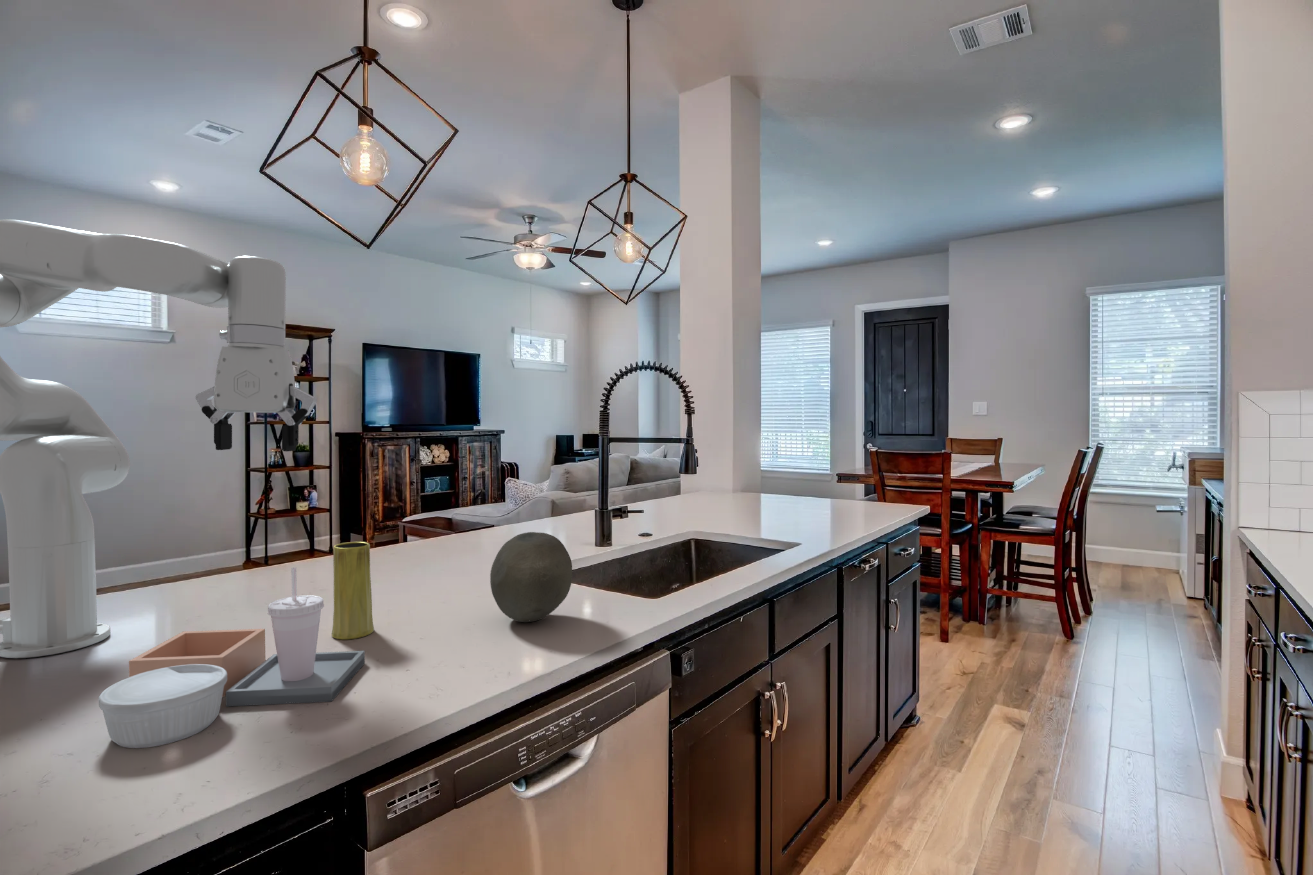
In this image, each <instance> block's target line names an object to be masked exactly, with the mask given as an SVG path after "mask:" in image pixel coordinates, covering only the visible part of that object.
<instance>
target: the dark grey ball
mask: <svg viewBox="0 0 1313 875" xmlns="http://www.w3.org/2000/svg"><path fill="white" fill-rule="evenodd" d="M489 576H490V577H489V578H490V580H489V581H490V583H489V584H490V590H491V594H492V597H493V599H494V601H495V603H496V605H497V607H498V608H499V610H500V611H501V612H502V613H503V614H504V615H505V616H506V617H507V618H509V619H511V620H514V621H517V622H519V623H531V622H536V621H539V620H542V619H544V618H545V617H548V616H549V615H550V614H552V613H553V612H554V611H555V610H556V609H557V608H558V607H559V606H560V605H561V604H562V603H563V602H564V601H565V599H566V598H567V596H568V594H569V593H570V592H569V591H570V589H571V587H572V580H573V563H572V558H571V556H570V554H569V552H568V550H567V549H566V546H565V545H564V543H562V541H561V540H560V539H559V538H557V537H556V536H554V535H552V534H550V533H545V532H536V531H528V532H523V533H519V534H517V535H514V536H513V537H512V538H510V539H508V540H507V541H506V542H505V543H504V544H502V546H501V547H500V549H499V550H498V552H497V554H496V556H495V557H494V560H493V562H492V565H491V569H490V575H489Z"/></svg>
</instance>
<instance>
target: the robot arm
mask: <svg viewBox="0 0 1313 875" xmlns="http://www.w3.org/2000/svg"><path fill="white" fill-rule="evenodd" d="M286 276H287V275H286V270H285V267H284V266H283V264H281V263H280V262H278V261H276V260H273V259H272V258H271V259H269V258H266V257H261V256H254V255H253V256H250V255H242V256H241V255H240V256H235V257H233V258H232V259H231V260H230V261H225V260H222V259H219V258H216V257H214V256H212V255H210V254H207V253H204V252H203V251H201V250H198V249H195V248H192V247H190V246H188V245H184V244H180V243H175V242H171V241H165V240H159V239H154V238H147V237H141V236H137V235H136V236H135V235H130V234H129V235H128V234H121V233H120V234H119V233H97V232H91V231H87V230H86V231H85V230H78V229H73V228H67V227H62V226H57V225H49V224H45V223H39V222H32V221H27V220H19V219H12V218H11V219H9V218H8V219H5V218H4V219H0V328H9V327H13V326H17V325H20V324H21V323H24V322H26V321H29V320H30V319H31V318H33V317H35V316H36V315H38V314H40V313H42V312H43V311H45V310H47V309H48V308H50V307H51V306H53V305H54V304H56V303H58V302H60V301H61V300H63V299H64V298H66V297H68V296H69V295H71V294H72V293H74V292H75V291H77V290H78V289H83V290H90V291H93V292H94V291H95V292H105V293H106V292H110V291H113V290H115V289H116V288H120V289H122V288H123V289H131V290H136V291H141V292H149V293H154V294H159V295H165V296H169V297H173V298H177V299H180V300H185V301H187V302H191V303H195V304H197V305H201V306H204V307H209V308H213V309H214V308H216V309H218V308H219V309H221V308H223V309H224V308H227V325H228V326H226V330H222V331H221V330H220V331H219V338H220V340H222V341H223V340H224V341H226V343H227V346H221V349H220V352H219V356H218V361H217V364H216V371H215V379H214V386H212V387H210V388H208V389H206V390H203V391H202V392H198V393H197V394H196V395H195V400H196V402H197V404H198V405H199V407H200V408H201V412H202V413H203V415H204V416H206V417H207V418H208V419H209V422H210V424H212V425H213V443H214V445H215V450H216V451H225V450H227V451H228V450H231V449H232V448H233V425H232V423H229V421H230V420H231V419H232V418H233V417H234V416H235V414H236V413H258V414H259V413H262V414H269V413H271V414H272V413H273V414H274V413H275V414H278V416H279V417H280V418H281V419H282V420H283V422H285V425H282V427H281V451H283V452H295V451H296V450H297V447H298V445H299V437H300V436H299V434H300V433H299V426H301V425H302V423H303V422H304V421H305V420H306V419H307V418H308V417H309V416H311V414H312V413H311V412H312V410H313V409H314V407H315V405H316V403H317V402H318V400H317V398H316V397H315V396H313V395H311V394H310V393H307V392H306V391H303V390H301V389H299V388H298V387H296V382H295V373H294V366H293V361H292V357H291V354H290V350H288V349H286V300H287V299H286V298H287V297H286V296H287V295H286V291H287V290H286V288H287V287H286V285H287V284H286V279H287V278H286ZM296 399H297V400H298V401H301V403H302V404H301V407H300V408H299V409H298V410H297V411H295V410H294V409H295V408H296V407H295V406H296ZM212 400H213V402H212ZM213 404H214V405H213ZM0 441H2V442H3V441H4V442H6V441H7V442H8V441H9V442H10V441H16V442H14V443H12V444H10V445H9V446H7V447H6V448H5V449H4V450H3V451H2V453H0V496H1V499H2V503H3V508H4V512H5V513H4V514H5V521H6V531H7V533H6V534H7V537H6V538H7V553H8V554H7V556H8V557H7V558H8V580H9V581H8V584H9V613H10V614H9V615H10V617H0V634H1V635H2V641H0V658H7V659H26V658H27V659H28V658H38V657H44V656H51V655H57V654H62V653H67V652H70V651H75V650H79V649H83V648H85V647H89V646H91V645H95V644H97V643H100V642H101V641H104V640H105V639H107V638H108V637H109V636H110V635H111V632H112V631H111V626H110V625H108V624H106V623H102V622H101V623H100V622H98V610H97V609H98V607H97V606H98V605H97V575H96V574H97V572H96V571H97V570H96V565H97V564H96V538H95V537H96V536H95V524H94V518H93V515H92V513H91V509H90V508H89V505H88V503H87V502H86V499H85V498H84V495H85V494H92V493H97V492H103V491H106V490H107V491H108V490H110V489H112V488H114V487H116V486H118V485H120V484H121V483H122V482H123V481H124V480H125V479H126V478H127V476H128V474H129V472H130V469H131V467H130V466H131V460H130V455H129V453H128V450H127V448H126V446H125V445H124V443H123V442H122V441H121V440H120V438H118V436H117V435H116V433H115V432H114V431H113V430H112V429H111V427H110V426H108V424H107V423H106V422H105V421H104V420H103V418H102V417H101V416H100V415H99V414H98V412H97V411H96V410H95V409H94V408H93V406H92V405H91V404H90V403H89V402H88V401H87V400H86V398H84V396H82V394H81V393H79V392H78V391H77V390H75V389H73V388H71V387H69V386H68V385H65V384H63V383H61V382H56V381H52V380H45V379H44V380H43V379H32V378H27V377H23V376H21V375H20V374H18V373H17V372H16V371H14V370H13V369H12V368H11V366H9V364H8V363H6V361H5V360H4V359H3V357H1V356H0Z"/></svg>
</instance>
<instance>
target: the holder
mask: <svg viewBox="0 0 1313 875" xmlns="http://www.w3.org/2000/svg"><path fill="white" fill-rule="evenodd" d="M266 660H267V658H266V628H251V629H250V628H245V629H244V628H243V629H242V628H241V629H221V630H220V629H215V630H213V629H211V630H187V631H186V630H185V631H181V632H179V633H178V634H176V635H174V636H172V637H171V638H168V639H167V640H165V641H162V642H161V643H159V644H157V645H156V646H154V647H152V648H150V649H148V650H146V651H145V652H143V653H141V654H140V655H137V656H136V657H133V658H132V659H129V661H128V668H129V670H128V671H129V672H128V673H129V674H128V678H129V677H131V676H134V675H137V674H140V673H144V672H147V671H152V670H156V669H160V668H165V667H171V666H179V665H188V664H208V665H215V666H219V667H222V668H223V669H225V670H226V672H227V682H226V684H225V685H224V689H223V695H222V698H225V697H226V691H227V690H229V689H230V688H231V687H232V686H234V685H235V684H236V683H238V682H239V681H240V680H241V679H243V678H244V677H245V676H247V675H248V674H249V673H250V672H252V671H253V670H254V669H255V668H257V667H258V666H259V665H261V664H262V663H263V662H264V661H266Z"/></svg>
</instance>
